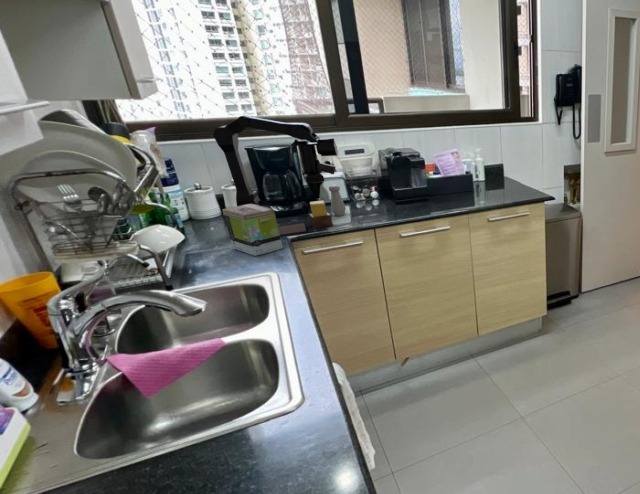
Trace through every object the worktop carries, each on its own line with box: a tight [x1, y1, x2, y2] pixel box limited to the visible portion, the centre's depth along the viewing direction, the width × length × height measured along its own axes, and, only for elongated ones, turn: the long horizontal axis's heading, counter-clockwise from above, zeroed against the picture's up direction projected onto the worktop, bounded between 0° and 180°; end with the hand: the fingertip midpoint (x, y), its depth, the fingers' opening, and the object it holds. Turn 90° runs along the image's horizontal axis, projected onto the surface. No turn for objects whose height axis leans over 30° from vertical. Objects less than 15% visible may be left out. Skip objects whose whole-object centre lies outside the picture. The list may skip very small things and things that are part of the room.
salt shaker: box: [328, 184, 347, 217], centre depth 203 cm, size 6×6×13 cm
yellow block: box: [309, 200, 328, 217], centre depth 189 cm, size 5×5×5 cm
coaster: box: [278, 222, 307, 237], centre depth 185 cm, size 12×12×1 cm
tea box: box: [221, 204, 284, 257], centre depth 163 cm, size 15×10×15 cm, turn 59°
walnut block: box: [308, 211, 333, 229], centre depth 191 cm, size 6×6×4 cm
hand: (317, 195), depth 188 cm, fingers open, 9 cm apart
